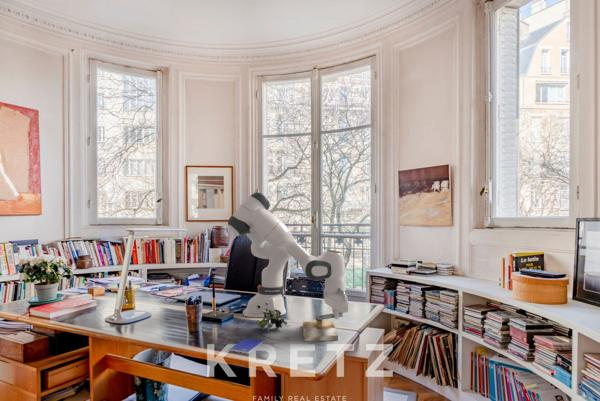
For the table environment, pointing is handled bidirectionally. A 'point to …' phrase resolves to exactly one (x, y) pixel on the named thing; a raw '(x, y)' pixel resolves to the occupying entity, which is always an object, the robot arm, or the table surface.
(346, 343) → the table surface
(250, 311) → the robot arm
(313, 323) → the door board
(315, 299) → the table surface
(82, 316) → the table surface
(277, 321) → the green leafy plant
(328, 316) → the lock bar
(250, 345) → the hard drive
